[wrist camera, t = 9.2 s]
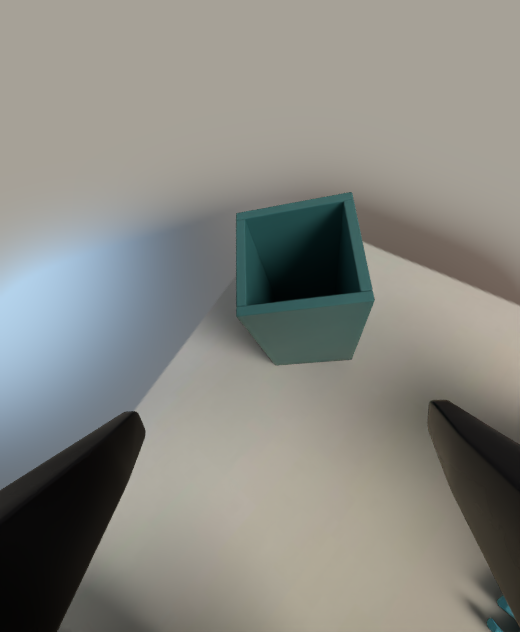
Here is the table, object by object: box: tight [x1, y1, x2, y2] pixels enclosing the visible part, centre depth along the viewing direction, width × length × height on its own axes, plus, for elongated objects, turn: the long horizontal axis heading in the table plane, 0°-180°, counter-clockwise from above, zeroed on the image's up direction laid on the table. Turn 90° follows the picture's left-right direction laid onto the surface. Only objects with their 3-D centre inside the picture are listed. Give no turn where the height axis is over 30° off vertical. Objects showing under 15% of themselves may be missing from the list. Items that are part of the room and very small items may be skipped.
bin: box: [236, 192, 375, 365], centre depth 18 cm, size 6×6×11 cm
